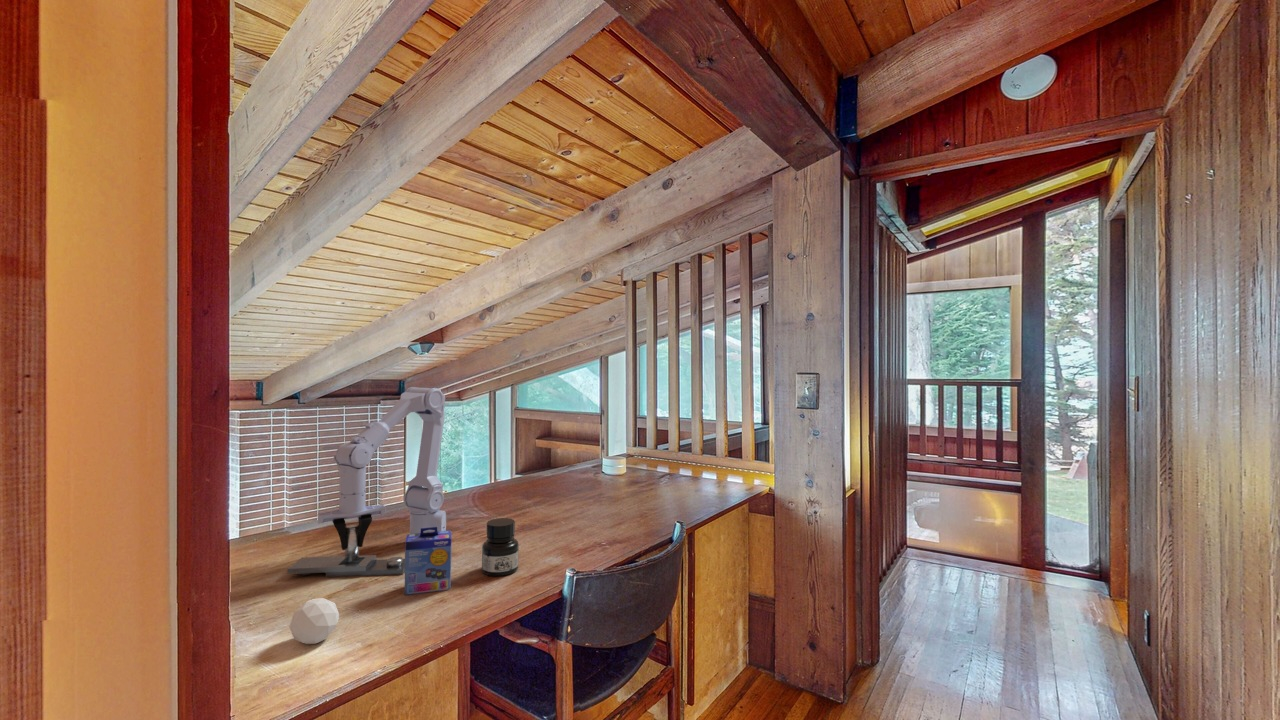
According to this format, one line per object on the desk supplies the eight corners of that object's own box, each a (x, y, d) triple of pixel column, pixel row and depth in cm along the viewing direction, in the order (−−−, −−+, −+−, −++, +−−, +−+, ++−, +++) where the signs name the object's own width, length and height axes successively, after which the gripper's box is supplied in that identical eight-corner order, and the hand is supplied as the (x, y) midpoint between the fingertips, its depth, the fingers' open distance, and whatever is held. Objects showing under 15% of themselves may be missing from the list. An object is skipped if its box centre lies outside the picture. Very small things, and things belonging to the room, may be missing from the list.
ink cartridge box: (403, 596, 118) (404, 531, 118) (405, 586, 123) (406, 523, 123) (451, 590, 121) (452, 526, 121) (450, 580, 126) (451, 519, 126)
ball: (307, 662, 97) (280, 639, 93) (306, 628, 103) (280, 606, 99) (349, 635, 99) (324, 612, 95) (345, 604, 106) (321, 581, 101)
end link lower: (411, 563, 136) (411, 553, 136) (402, 574, 129) (402, 564, 129) (338, 565, 134) (338, 556, 134) (325, 577, 127) (325, 567, 127)
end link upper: (376, 564, 135) (376, 555, 135) (365, 575, 128) (365, 565, 128) (302, 567, 133) (302, 557, 133) (287, 578, 126) (287, 568, 126)
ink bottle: (479, 579, 127) (480, 529, 127) (480, 565, 136) (480, 518, 136) (521, 575, 130) (521, 526, 130) (519, 561, 138) (519, 515, 138)
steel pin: (357, 556, 133) (358, 524, 133) (359, 559, 131) (359, 527, 131) (344, 558, 131) (344, 526, 131) (345, 562, 129) (345, 529, 129)
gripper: (381, 485, 138) (381, 537, 138) (316, 492, 130) (316, 548, 130) (387, 490, 133) (386, 545, 133) (319, 499, 124) (318, 557, 124)
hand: (352, 547), depth 131 cm, fingers closed on steel pin, 3 cm apart
